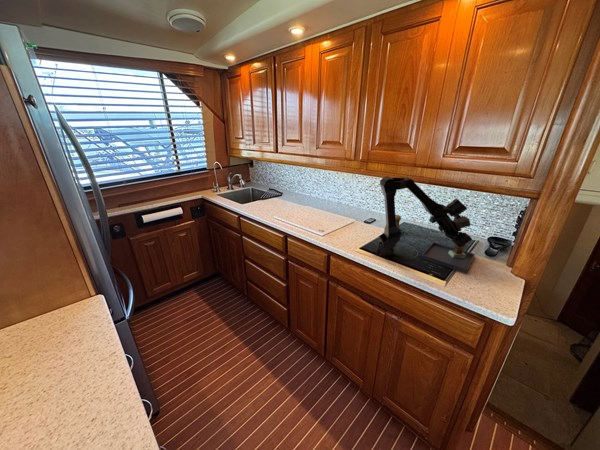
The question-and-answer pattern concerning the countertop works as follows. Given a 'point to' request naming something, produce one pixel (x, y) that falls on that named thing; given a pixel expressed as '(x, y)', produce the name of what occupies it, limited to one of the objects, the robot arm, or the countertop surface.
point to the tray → (447, 257)
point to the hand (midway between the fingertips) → (462, 244)
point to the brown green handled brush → (457, 252)
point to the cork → (397, 219)
